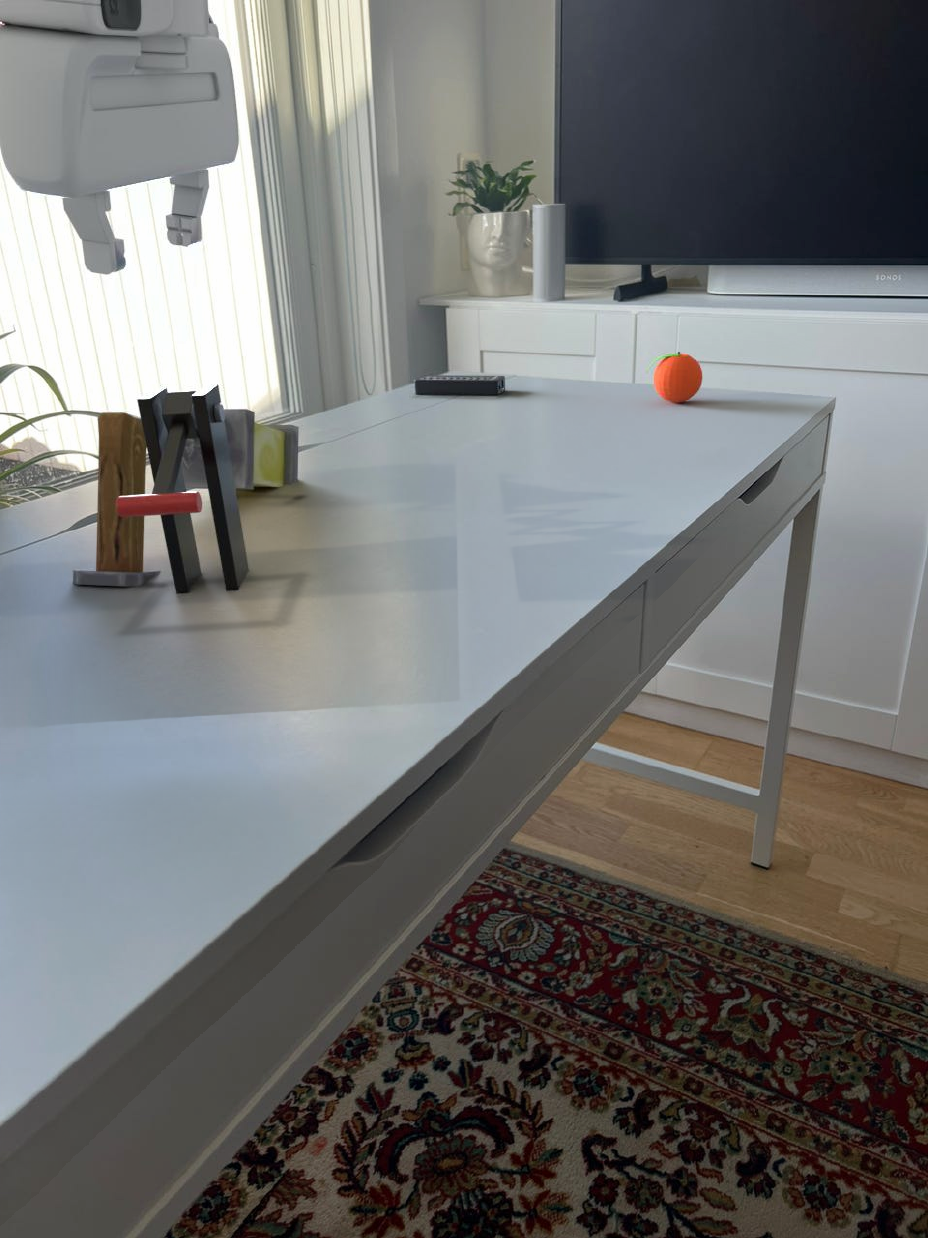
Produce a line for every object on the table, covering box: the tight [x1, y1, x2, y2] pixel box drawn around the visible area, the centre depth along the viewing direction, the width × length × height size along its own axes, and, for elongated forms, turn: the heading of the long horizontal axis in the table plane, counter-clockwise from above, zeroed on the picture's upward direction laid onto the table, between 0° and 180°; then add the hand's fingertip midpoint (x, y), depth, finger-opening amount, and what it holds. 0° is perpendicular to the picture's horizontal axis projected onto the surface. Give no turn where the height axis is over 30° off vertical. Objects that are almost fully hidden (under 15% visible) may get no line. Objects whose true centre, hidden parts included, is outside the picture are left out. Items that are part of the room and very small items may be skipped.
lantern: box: [72, 408, 300, 587], centre depth 90 cm, size 8×17×30 cm
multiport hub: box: [413, 374, 506, 396], centre depth 151 cm, size 4×14×2 cm, turn 69°
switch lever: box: [116, 390, 203, 517], centre depth 67 cm, size 12×6×2 cm, turn 1°
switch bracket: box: [136, 383, 250, 595], centre depth 73 cm, size 10×12×17 cm
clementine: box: [646, 351, 703, 404], centre depth 134 cm, size 8×7×7 cm
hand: (148, 256), depth 58 cm, fingers open, 8 cm apart
